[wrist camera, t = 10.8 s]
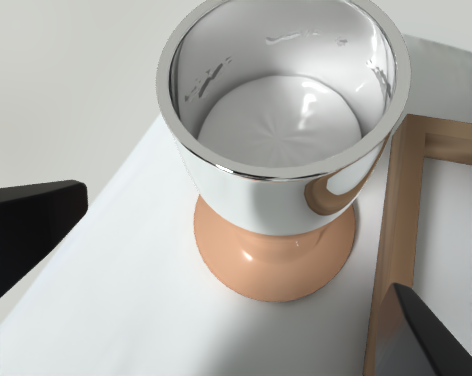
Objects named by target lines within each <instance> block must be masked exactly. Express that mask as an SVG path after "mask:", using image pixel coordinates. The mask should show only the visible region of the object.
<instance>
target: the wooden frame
mask: <svg viewBox="0 0 472 376" xmlns="http://www.w3.org/2000/svg"><path fill="white" fill-rule="evenodd" d="M424 157H428V158H434V159H440V160H446V161H451V162H457V163H463V164H468V165H472V123H465V122H458V121H452V120H445V119H439V118H432V117H426V116H419V115H413V114H407V115H406V117H405V118H404V120H403V121H402V123H401V125H400V126H399V128H398V129H397V131H396V132H395V134H394V135H393V137H392V144H391V152H390V160H389V168H388V176H387V184H386V192H385V200H384V208H383V216H382V224H381V232H380V240H379V248H378V256H377V264H376V272H375V280H374V288H373V296H372V304H371V312H370V320H369V328H368V336H367V344H366V352H365V360H364V368H363V376H375V354H376V337H377V320H378V310H379V307H380V304H381V302H382V300H383V298H384V296H385V294H386V292H387V290H388V288H389V286H390V284H391V283H393V282H396V283H399V284H402V285H406V286H409V287H410V288H412V285H413V274H414V262H415V251H416V239H417V228H418V216H419V205H420V193H421V182H422V170H423V158H424Z"/></svg>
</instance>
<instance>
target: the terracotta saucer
mask: <svg viewBox="0 0 472 376" xmlns="http://www.w3.org/2000/svg"><path fill="white" fill-rule="evenodd" d="M194 234H195V239H196V244H197V247H198V249H199V252H200V254H201V256H202V258H203V260H204V262H205V264H206V265H207V267H208V268H209V269H210V271H211V272H212V273H213V274H214V275H215V276H216V277H217V279H218V280H220V281H221V282H222V283H223V284H225V285H226V286H227V287H229V288H230V289H232V290H234V291H235V292H237V293H239V294H241V295H243V296H246V297H248V298H252V299H255V300H259V301H266V302H284V301H291V300H295V299H299V298H302V297H305V296H307V295H309V294H311V293H313V292H315V291H317V290H318V289H320V288H322V287H323V286H324V285H326V284H327V283H328V282H329V281H330V280H332V279H333V277H334V276H335V275H336V274H337V273H338V272H339V271H340V269H341V268H342V266H343V265H344V263H345V262H346V260H347V257H348V255H349V253H350V251H351V248H352V244H353V240H354V234H355V216H354V209H353V205H352V204H351V205H350V206H349V207H348V209H347V210H346V211H345V212H344V213H343V214H342V215H341V216H340V217H339V218H338V219H337V220H335V221H334V222H333V223H332V224H330V225H329V226H327V227H326V228H325V229H323V230H322V231H321V234H320V237H319V239H318V241H317V243H316V245H315V246H314V248H313V249H312V250H311V251H310V252H309V253H308V254H307V255H306V256H304V257H303V258H301V259H300V260H298V261H295V262H293V263H290V264H285V265H270V264H266V263H262V262H260V261H257V260H255V259H254V258H252V257H251V256H249V255H248V254H247V253H246V252H245V251H244V250H243V249H242V248H241V247H240V245H239V244H238V242H237V240H236V238H235V236H234V233H233V229H232V228H231V227H230V226H228V225H227V224H226V223H225V222H223V221H222V220H221V219H220V218H219V217H218V216H217V215H216V214H215V213H214V212H213V211H212V210H211V209H210V207H209V206H208V205H207V203H206V202H205V200H204V199H203V198H202V196H201V195H200V194H199V197H198V200H197V203H196V207H195V213H194Z"/></svg>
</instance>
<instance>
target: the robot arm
mask: <svg viewBox="0 0 472 376" xmlns="http://www.w3.org/2000/svg"><path fill="white" fill-rule="evenodd" d="M87 210H88V196H87V187H86V185H85V184H84V183H81V182H79V181H76V180H66V181H58V182H50V183H41V184H32V185H24V186H15V187H8V188H0V298H1V297H2V296H3V295H4V294H5V293H6V292H7V291H9V290H10V289H11V288H12V287H13V286H14V285H15V284H16V283H17V282H18V281H20V280H21V279H22V278H23V277H24V276H25V275H26V274H27V273H28V272H29V271H31V269H33V268H34V267H35V266H36V265H37V264H38V263H39V262H40V261H41V260H43V259H44V258H45V257H46V256H47V255H48V254H49V253H50V252H51V251H52V250H53V249H54V248H55V247H56V246H57V245H58V244H59V243H60V242H61V241H62V240H63V238H64V237H65V236H66V235H67V234H68V233H69V232H70V231H71V230H72V229H73V227H74V226H75V225H76V224H77V223H78V222H79V221H80V220H81V219H82V217H83V216H84V215H85V214H86V212H87ZM375 376H472V357H471V355H470V354H469V353H468V352H467V351H466V350H465V349H464V347H463V346H462V345H461V344H460V343H459V342H458V341H457V339H456V338H455V337H454V336H453V335H452V334H451V333H450V331H449V330H448V329H447V328H446V327H445V326H444V325H443V324H442V322H441V321H440V320H439V319H438V318H437V317H436V316H435V314H434V313H433V312H432V311H431V310H430V309H429V308H428V306H427V305H426V304H425V303H424V302H423V301H422V300H421V299H420V297H419V296H418V295H417V294H416V293H415V292H414V291H413V289H412V288H410V287H409V286H406V285H402V284H399V283H396V282H393V283H391V284H390V286H389V288H388V290H387V292H386V294H385V296H384V298H383V300H382V302H381V304H380V307H379V310H378V320H377V337H376V354H375Z"/></svg>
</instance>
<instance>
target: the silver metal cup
mask: <svg viewBox="0 0 472 376" xmlns="http://www.w3.org/2000/svg"><path fill="white" fill-rule="evenodd" d="M410 83H411V65H410V58H409V54H408V50H407V47H406V45H405V42H404V40H403V38H402V36H401V34H400V32H399V30H398V29H397V27H396V26H395V24H394V23H393V22H392V20H391V19H390V18H389V17H388V16H387V15H386V14H385V13H384V12H383V11H382V10H381V9H380V8H379V7H378V6H377V5H375V4H374V3H373V2H371V1H370V0H207V1H205V2H203V3H202V4H200V5H199V6H198V7H196V8H195V9H194V10H193V11H192V12H191V13H189V14H188V15H187V16H186V18H184V19H183V20H182V21H181V23H180V24H179V25H178V26H177V28H176V29H175V30H174V31H173V33H172V34H171V36H170V38H169V39H168V41H167V43H166V45H165V47H164V49H163V51H162V54H161V57H160V60H159V64H158V68H157V76H156V92H157V99H158V104H159V107H160V111H161V113H162V116H163V118H164V120H165V122H166V124H167V126H168V128H169V129H170V131H171V133H172V136H173V138H174V141H175V144H176V146H177V149H178V151H179V154H180V156H181V159H182V161H183V163H184V166H185V168H186V170H187V172H188V174H189V176H190V178H191V180H192V181H193V183H194V185H195V187H196V189H197V191H198V192H199V194H200V195H201V196H202V198H203V199H204V200H205V202H206V203H207V205H208V206H209V207H210V209H211V210H212V211H213V212H214V213H215V214H216V215H217V216H218V217H219V218H220V219H221V220H222V221H223V222H225V223H226V224H227V225H228V226H230V227H231V228H232V229H233V233H234V236H235V238H236V240H237V242H238V244H239V245H240V247H241V248H242V249H243V250H244V251H245V252H246V253H247V254H248V255H249V256H251V257H252V258H254V259H255V260H257V261H260V262H262V263H266V264H270V265H285V264H290V263H293V262H295V261H298V260H300V259H301V258H303V257H304V256H306V255H307V254H308V253H309V252H310V251H311V250H312V249H313V248H314V246H315V245H316V243H317V241H318V239H319V237H320V234H321V231H322V230H323V229H325V228H326V227H327V226H329V225H330V224H332V223H333V222H334V221H335V220H337V219H338V218H339V217H340V216H341V215H342V214H343V213H344V212H345V211H346V210H347V209H348V207H349V206H350V205H351V204H352V202H353V201H354V200H355V199H356V197H357V196H358V195H359V193H360V192H361V190H362V189H363V187H364V186H365V184H366V182H367V180H368V179H369V177H370V175H371V174H372V172H373V170H374V168H375V166H376V164H377V162H378V160H379V158H380V156H381V153H382V151H383V149H384V147H385V145H386V142H387V140H388V138H389V135H390V133H391V131H392V128H393V127H394V125H395V124H396V122H397V121H398V119H399V117H400V115H401V114H402V111H403V109H404V107H405V104H406V101H407V98H408V94H409V90H410Z"/></svg>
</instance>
